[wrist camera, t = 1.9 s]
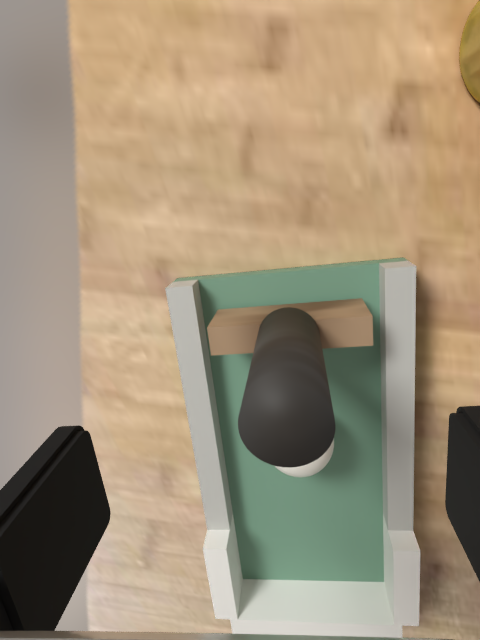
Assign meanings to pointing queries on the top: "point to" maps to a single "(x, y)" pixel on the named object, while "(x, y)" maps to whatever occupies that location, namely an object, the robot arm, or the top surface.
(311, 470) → the ball
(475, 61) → the vase
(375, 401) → the pitch
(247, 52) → the top surface
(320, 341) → the striker
